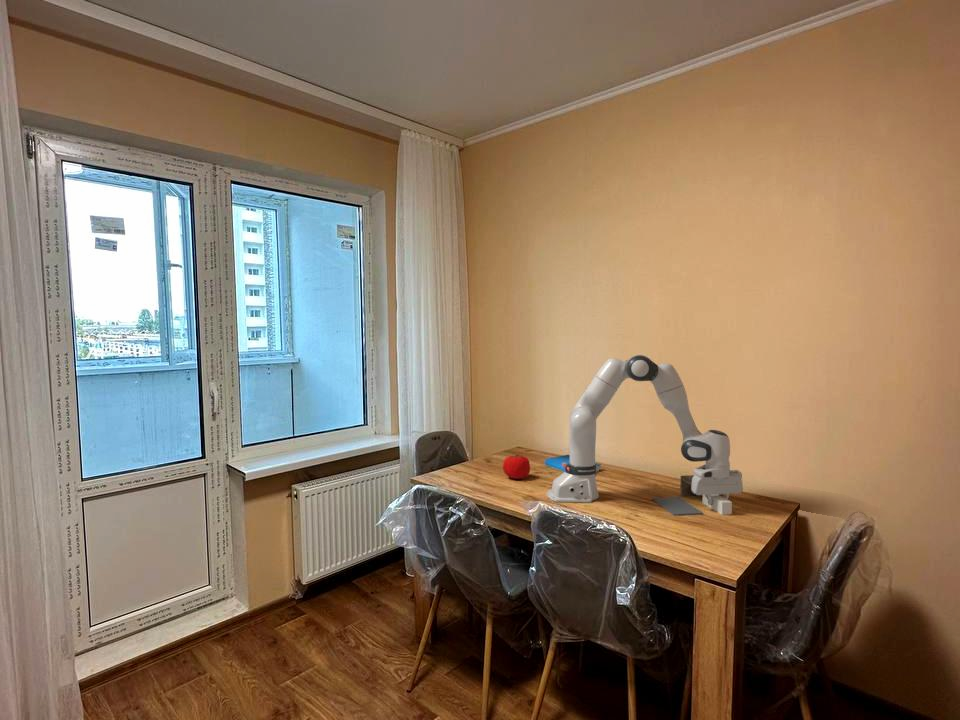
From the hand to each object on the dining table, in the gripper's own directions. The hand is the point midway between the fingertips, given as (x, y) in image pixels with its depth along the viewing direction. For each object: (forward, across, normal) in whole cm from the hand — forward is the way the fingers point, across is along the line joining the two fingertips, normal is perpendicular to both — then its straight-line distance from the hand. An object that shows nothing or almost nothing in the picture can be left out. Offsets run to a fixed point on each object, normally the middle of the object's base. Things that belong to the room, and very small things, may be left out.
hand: (716, 504), depth 201 cm
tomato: (+2, +73, -52) cm, 90 cm away
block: (+2, 0, 0) cm, 2 cm away
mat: (+2, +15, -4) cm, 16 cm away
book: (+2, +41, -66) cm, 78 cm away
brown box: (+2, 0, -14) cm, 14 cm away
